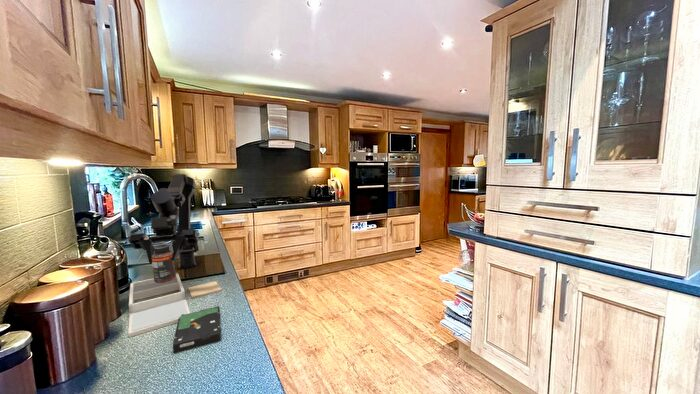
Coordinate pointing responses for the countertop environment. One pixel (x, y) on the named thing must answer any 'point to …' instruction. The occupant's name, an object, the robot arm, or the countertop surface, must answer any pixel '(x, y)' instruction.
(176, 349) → the disk drive
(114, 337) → the countertop surface
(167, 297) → the equipment case
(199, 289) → the cork mat
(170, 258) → the supplement bottle
